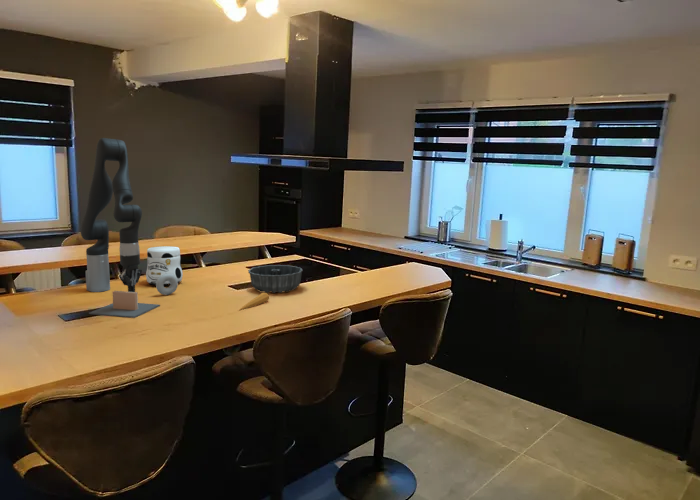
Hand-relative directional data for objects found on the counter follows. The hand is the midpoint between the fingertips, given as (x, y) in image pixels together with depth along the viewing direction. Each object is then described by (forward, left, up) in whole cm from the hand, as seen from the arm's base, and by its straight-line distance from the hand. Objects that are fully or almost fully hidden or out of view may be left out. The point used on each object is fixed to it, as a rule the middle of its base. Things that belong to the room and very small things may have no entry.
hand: (131, 294), depth 210 cm
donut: (+3, +23, -6) cm, 24 cm away
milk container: (-10, +43, -6) cm, 44 cm away
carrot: (+47, +16, -6) cm, 50 cm away
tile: (0, -4, -5) cm, 7 cm away
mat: (0, -4, -6) cm, 7 cm away
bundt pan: (+47, +47, -6) cm, 66 cm away
